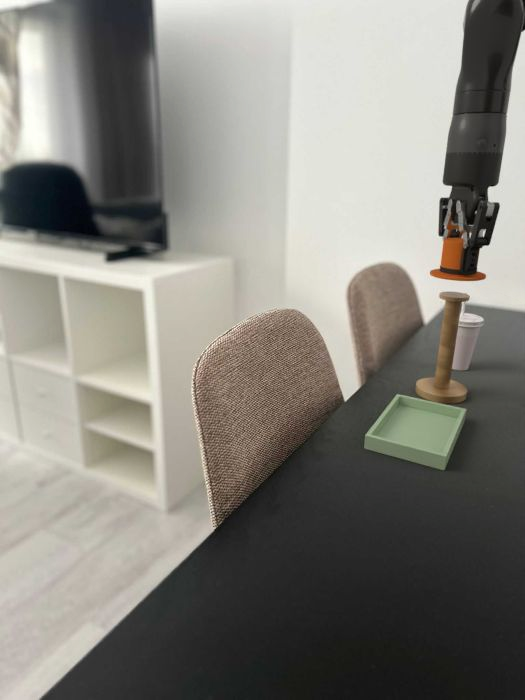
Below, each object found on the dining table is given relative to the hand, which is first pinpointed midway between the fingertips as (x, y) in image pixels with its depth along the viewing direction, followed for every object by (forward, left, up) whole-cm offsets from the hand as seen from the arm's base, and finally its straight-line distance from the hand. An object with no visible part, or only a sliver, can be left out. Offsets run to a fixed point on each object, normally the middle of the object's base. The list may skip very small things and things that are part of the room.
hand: (458, 269), depth 78 cm
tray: (+9, +13, -20) cm, 26 cm away
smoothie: (-8, -11, -21) cm, 25 cm away
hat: (0, 0, -1) cm, 1 cm away
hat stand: (0, 0, -20) cm, 20 cm away
